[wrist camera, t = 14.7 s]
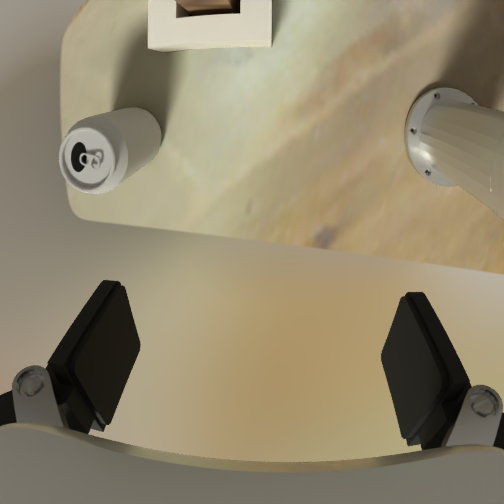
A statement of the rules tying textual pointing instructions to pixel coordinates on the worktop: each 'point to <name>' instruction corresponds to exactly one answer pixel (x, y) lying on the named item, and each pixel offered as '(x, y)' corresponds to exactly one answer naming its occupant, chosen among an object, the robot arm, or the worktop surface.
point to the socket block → (208, 27)
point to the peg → (209, 6)
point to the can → (108, 149)
